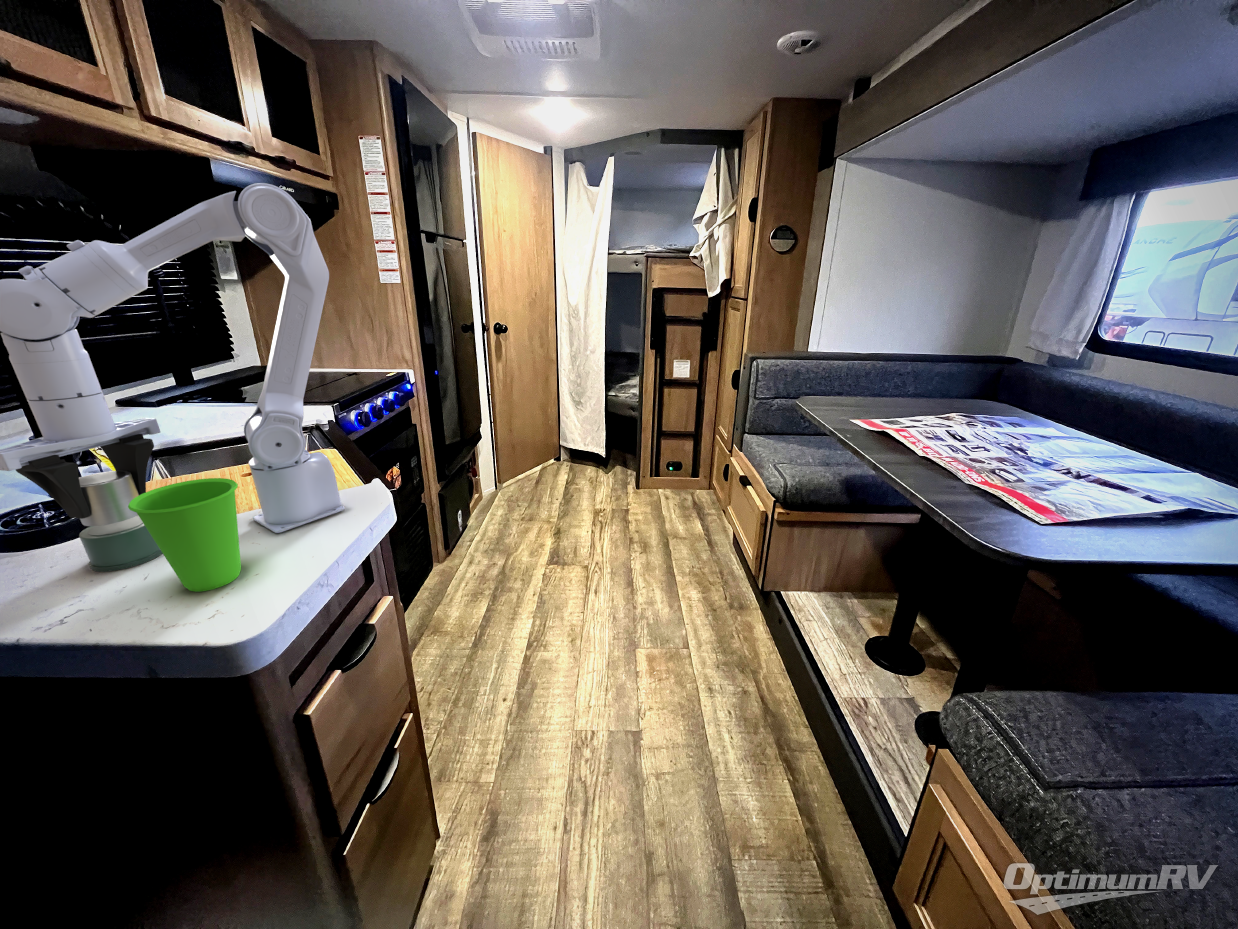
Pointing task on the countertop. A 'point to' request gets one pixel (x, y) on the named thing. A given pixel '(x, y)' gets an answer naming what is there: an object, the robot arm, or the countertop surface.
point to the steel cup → (108, 497)
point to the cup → (195, 530)
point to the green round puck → (119, 545)
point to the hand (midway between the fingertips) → (110, 506)
